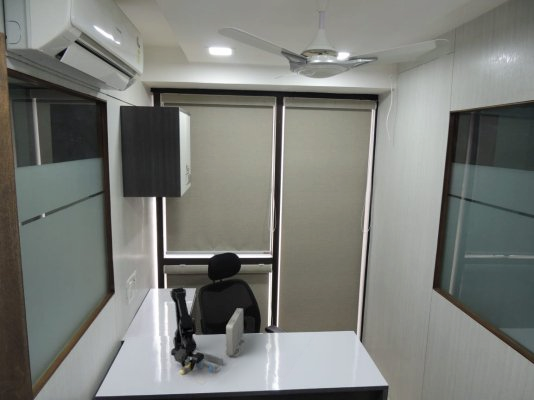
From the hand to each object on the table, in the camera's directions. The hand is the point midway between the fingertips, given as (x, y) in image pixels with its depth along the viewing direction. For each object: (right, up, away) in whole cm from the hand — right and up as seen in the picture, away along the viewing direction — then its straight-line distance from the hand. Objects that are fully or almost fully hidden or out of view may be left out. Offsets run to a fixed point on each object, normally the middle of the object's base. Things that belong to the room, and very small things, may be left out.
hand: (187, 368), depth 188 cm
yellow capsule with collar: (0, 0, 0) cm, 0 cm away
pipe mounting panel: (+6, -1, 0) cm, 6 cm away
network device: (+24, +2, +23) cm, 33 cm away
